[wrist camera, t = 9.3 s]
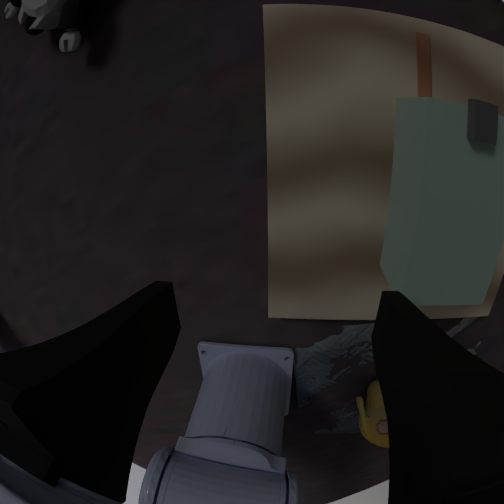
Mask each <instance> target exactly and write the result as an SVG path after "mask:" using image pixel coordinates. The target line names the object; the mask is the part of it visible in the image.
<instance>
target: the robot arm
mask: <svg viewBox="0 0 504 504" xmlns="http://www.w3.org/2000/svg"><path fill="white" fill-rule="evenodd" d="M180 329H181V326H180V321H179V316H178V311H177V306H176V301H175V295H174V290H173V284H172V282H163V281H156V282H154V283H152V284H150V285H148V286H147V287H145V288H143V289H142V290H140V291H138V292H137V293H135V294H134V295H132V296H131V297H129V298H127V299H126V300H124V301H123V302H121V303H120V304H118V305H116V306H115V307H113V308H112V309H110V310H108V311H107V312H105V313H103V314H101V315H100V316H98V317H96V318H95V319H93V320H91V321H89V322H88V323H86V324H84V325H82V326H80V327H78V328H76V329H74V330H71V331H69V332H67V333H65V334H63V335H60V336H57V337H55V338H52V339H50V340H47V341H44V342H42V343H39V344H36V345H33V346H29V347H26V348H22V349H18V350H14V351H10V352H5V353H0V504H122V503H124V502H125V500H126V493H127V486H128V480H129V474H130V469H131V465H132V460H133V456H134V451H135V447H136V443H137V440H138V436H139V432H140V429H141V426H142V422H143V419H144V416H145V413H146V410H147V407H148V405H149V402H150V400H151V397H152V395H153V393H154V391H155V389H156V387H157V385H158V383H159V381H160V378H161V376H162V374H163V372H164V370H165V368H166V366H167V364H168V362H169V360H170V357H171V355H172V353H173V351H174V348H175V345H176V342H177V339H178V335H179V332H180ZM371 340H372V349H373V358H374V364H375V368H376V372H377V377H378V381H379V385H380V389H381V394H382V398H383V403H384V407H385V412H386V417H387V424H388V437H389V461H390V475H389V498H388V504H504V373H502V372H500V371H499V370H497V369H495V368H494V367H492V366H490V365H489V364H487V363H485V362H484V361H482V360H481V359H479V358H478V357H476V356H475V355H473V354H472V353H471V352H469V351H468V350H466V349H465V348H464V347H462V346H461V345H460V344H458V343H457V342H456V341H455V340H454V339H452V338H451V337H450V336H449V335H448V334H446V333H445V332H444V331H443V330H442V329H441V328H439V327H438V326H437V325H436V324H435V323H434V322H433V321H432V320H430V319H429V318H428V317H427V316H426V315H425V314H424V313H423V312H422V311H421V310H420V309H419V308H418V307H416V306H415V305H414V304H413V303H412V302H411V301H410V300H409V299H408V298H407V297H405V296H404V295H403V294H402V293H401V292H399V291H382V294H381V298H380V303H379V307H378V312H377V316H376V320H375V324H374V328H373V332H372V336H371ZM204 351H206V352H204ZM198 353H199V358H200V363H201V368H202V373H203V378H204V380H203V383H202V386H201V389H200V392H199V395H198V398H197V401H196V404H195V407H194V410H193V413H192V416H191V419H190V422H189V425H188V428H187V431H186V434H185V437H182V436H180V437H179V439H178V442H177V445H176V448H174V447H170V446H166V447H164V448H163V449H161V450H159V451H157V452H156V453H155V454H154V456H153V457H152V459H151V461H150V463H149V465H148V468H147V470H146V473H145V476H144V479H143V482H142V486H141V490H140V495H139V504H302V503H303V490H302V485H301V482H300V480H299V479H298V478H297V476H296V474H295V473H294V472H292V471H285V470H286V458H284V457H281V447H282V437H283V426H284V416H286V415H288V413H289V404H290V394H291V383H292V372H293V361H294V350H293V349H291V348H283V347H265V346H249V345H236V344H224V343H213V342H199V344H198ZM286 357H289V358H286Z"/></svg>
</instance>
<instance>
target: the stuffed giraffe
mask: <svg viewBox="0 0 504 504" xmlns="http://www.w3.org/2000/svg"><path fill="white" fill-rule="evenodd" d="M480 317H481V316H480ZM476 318H478V317H465V318H464V319H463V320H462V321H461V323H460V325H457V326H454V327H453V328H452V329H451V330H450V331H448V332H446V334H448V335H449V336H450V337H451V338H453V337H454V336H455V335H456V334H457V333H458V332H461V331H462V329H463V328H466V327H467V325H469V324H470V323H471V322H472V321H474V320H476ZM374 324H375V323H369V324H361V325H346V326H343V327H344V328H345V329H344V331H343V332H342V333H341V334H339V335H336V334H335V335H331V336H329V337H328V338H326V339H325V340H323V341H320V342H316V343H314V346H311V347H308V348H296V349H295V350H294V361H293V363H294V373H295V379H296V390H297V400H298V408H299V409H300V408H301V407H303V406H306V405H307V404H309V403H310V402H312V401H306V400H307V399H308V396H309V397H310V396H312V395H311V394H315V393H319V392H320V389H322V388H324V389H325V388H328V387H326V386H332V384H329V383H334V384H338V382H335V381H333V380H336V379H337V378H338V376H340V375H341V374H342V373H343V372H345V371H346V370H347V369H348V368H346V369H342V371H341V372H340V373H339V374H337V373H336V374H337V375H334V376H333V379H332V380H329V379H327V377H326V376H328V375H330V374H329V373H330V370H332V369H330V368H331V367H332V366H334V364H333V363H331V364H330V363H329V361H330V358H337V357H339V355H342V354H346V355H345V356H343V357H346V356H347V352H349V351H347V350H346V348H349V347H350V346H353V345H356V346H357V345H358V343H359V342H361V341H369V342H372V340H371V336H372V332H373V328H374ZM358 337H359V339H357V338H358ZM480 343H481V341H480V342H479V343H478V344H477V346H476V347H475V348H477V347H478V346H479V345H480ZM360 344H361V343H360ZM360 344H359V345H360ZM367 346H368V343H366V344H365V346H363V347H359V346H358V347H355V348H354V350H352V351H351V352H350V353H354V352H355V350H358V349H359V350H358V351H357V352H356V353H354V354H353V355H356V354H358V353H359V354H361V353H360V352H359V351H362V350H368V349H366V347H367ZM369 348H370V349H372V345H371V346H370V347H369ZM372 350H373V349H372ZM467 350H468V351H469V352H471V353H472V354H473V355H475V354H476V353H477V352H475V353H474V351H475V350H473V349H471V350H470V349H467ZM366 355H369V356H371V357H373V353H371V352H367V353H366V354H364V353H363V354H362V357H363V358H364V357H365V356H366ZM351 356H352V355H351ZM351 356H350V357H349V359H351ZM349 359H348V360H349ZM366 359H367V360H369V359H370V361H373V362H374V359H371V358H369V357H368V358H366ZM355 363H356V362H355ZM362 363H364V364H368V363H367V361H366V362H363V359H362V361H361V362H360V363H359V365H360V364H362ZM329 365H331V366H329ZM350 367H351V366H349V368H350ZM362 367H363V366H361V368H362ZM301 369H302V370H301ZM305 369H306V370H305ZM327 369H328V370H327ZM350 372H351V371H349V372H347V373H350ZM347 373H346V374H347ZM344 376H345V375H343V377H344ZM313 377H315V378H316V379H312V378H313ZM343 377H342V378H343ZM340 380H341V379H339V381H340ZM327 382H329V383H327ZM322 384H323V385H325V386H323V385H322ZM321 387H322V388H321ZM332 387H334V386H332ZM355 400H356V401H355ZM352 401H354V402H357V406H358V410H359V411H357V410H356V411H354V412H351V411H350V412H351V413H349V412H347V413H345V411H346V409H347V407H345V409H343V412H342V411H341V410H340V411H337V410H336V412H337V413H338V414H337V413H333V412H330V413H331V414H332V415H335V416H338V417H337V419H340V420H338V422H337V425H336V426H335V427H336V428H335V427H334V428H333V427H332V430H329V429H322V430H318V431H317V432H315V433H314V434H335V433H337V434H338V433H360V432H361V433H362V435H363V436H364V438H366V439H367V440H368V441H369V442H371V443H373V444H375V445H377V446H380V447H384V448H389V437H388V424H387V417H386V412H385V407H384V403H383V398H382V394H381V389H380V385H379V381H378V377H377V376H376V377H375V378H374V379H373V380H372V381H371V382H370V384H369V387H368V390H367V398H366V400H365V401H364V402H363V398H362V397H360V396H357V397H356V399H354V400H352ZM350 402H351V401H350ZM350 402H348V403H347V406H350V405H351V404H349V403H350ZM344 406H345V405H344ZM342 407H343V406H342ZM299 414H301V411H299ZM329 415H330V414H329ZM332 415H330V416H331V417H333V416H332ZM333 418H334V417H333Z"/></svg>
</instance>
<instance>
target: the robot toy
mask: <svg viewBox="0 0 504 504" xmlns="http://www.w3.org/2000/svg"><path fill="white" fill-rule="evenodd" d="M19 8H21V9H20V13H19V16H18V18H19V22H20V24H24V28H25V31H26V32H27V33H28V34H30V35H37V34H39V33H41V32H43V31H44V30H45V29H46V30H50V29H55V28H57V27H58V30H66V31H65V32H64V34H63V35H62V37H61V39H60V40H59V47H60V50H61V51H62V52H68V51H75V50H76V49H78V47H79V45H80V42H81V40H82V39H81V35H80V31H79V30H84V29H87V28H88V23H89V19H90V14H91V10H92V5H91V2H90V0H10V2H9V3H8V4H7V6H6V8H5V15H6V18H7V19H12V18H13V17H14V16H15V15H16V14H18V11H19Z"/></svg>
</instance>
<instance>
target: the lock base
mask: <svg viewBox="0 0 504 504" xmlns="http://www.w3.org/2000/svg"><path fill="white" fill-rule="evenodd" d="M263 23H264V51H265V85H266V125H267V180H268V317H272V318H295V319H328V320H376V316H377V312H378V307H379V303H380V298H381V294H382V291H391V288H390V286H389V284H388V282H387V279H386V277H385V275H384V273H383V271H382V268H381V266H380V260H381V254H382V248H383V242H384V235H385V228H386V221H387V214H388V206H389V197H390V188H391V178H392V166H393V153H394V137H395V111H396V98H409V97H432V98H437V99H441V100H446V101H450V102H454V103H459V104H462V105H466V106H468V99H478V100H481V101H484V102H488V103H491V104H494V105H497V106H498V115H501V116H504V46H501V45H499V44H496V43H494V42H491V41H489V40H486V39H484V38H481V37H478V36H475V35H473V34H470V33H467V32H464V31H461V30H458V29H454V28H451V27H448V26H444V25H441V24H437V23H433V22H430V21H426V20H421V19H417V18H413V17H408V16H403V15H398V14H393V13H388V12H382V11H375V10H368V9H361V8H352V7H342V6H330V5H312V4H265V5H263ZM503 274H504V238H503V242H502V245H501V249H500V253H499V256H498V260H497V263H496V266H495V269H494V273H493V276H492V279H491V282H490V285H489V288H488V290H487V293H486V296H485V299H484V301H483V304H480V305H442V306H416V307H418V308H419V309H420V310H421V311H422V312H423V313H424V314H425V315H426V316H427V317H428V318H429V319H442V318H463V317H480V316H488V315H489V313H490V310H491V307H492V305H493V302H494V300H495V297H496V294H497V291H498V289H499V286H500V283H501V280H502V277H503Z"/></svg>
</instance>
